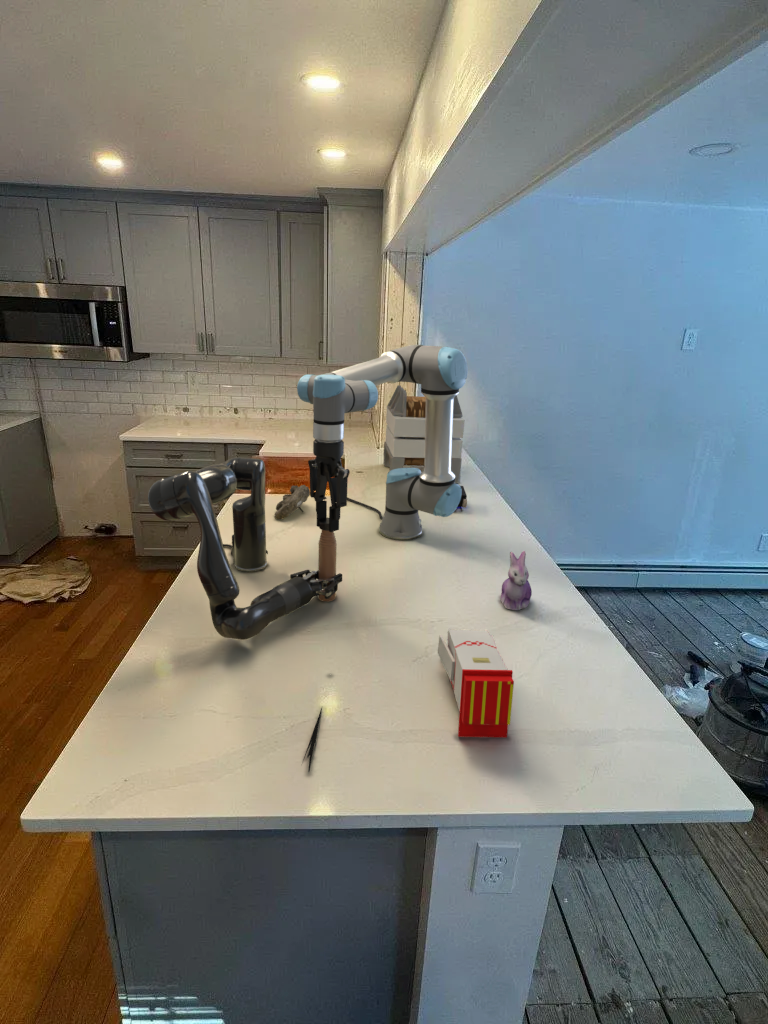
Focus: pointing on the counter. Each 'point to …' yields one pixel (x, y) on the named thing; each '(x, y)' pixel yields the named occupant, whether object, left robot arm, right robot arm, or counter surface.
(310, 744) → the feather
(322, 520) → the cap
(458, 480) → the stacked slatted crates
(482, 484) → the counter surface
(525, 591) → the figurine
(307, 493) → the fossil
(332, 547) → the bottle
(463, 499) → the figurine character
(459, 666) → the toy
